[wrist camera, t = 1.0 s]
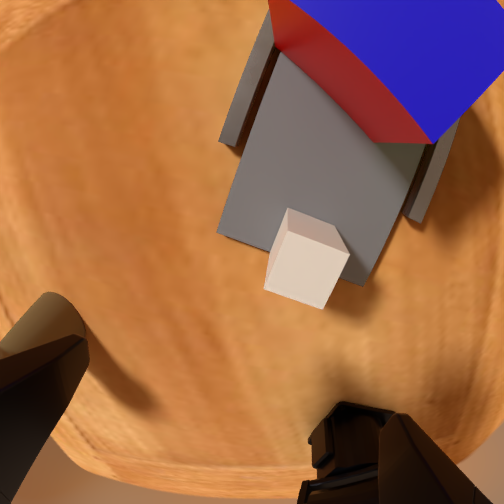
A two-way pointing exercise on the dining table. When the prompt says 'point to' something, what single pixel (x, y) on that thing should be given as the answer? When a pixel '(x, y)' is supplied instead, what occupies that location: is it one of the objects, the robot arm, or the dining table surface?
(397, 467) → the robot arm
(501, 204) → the dining table surface
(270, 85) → the grey panel with knob
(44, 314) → the cork
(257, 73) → the lane rails
